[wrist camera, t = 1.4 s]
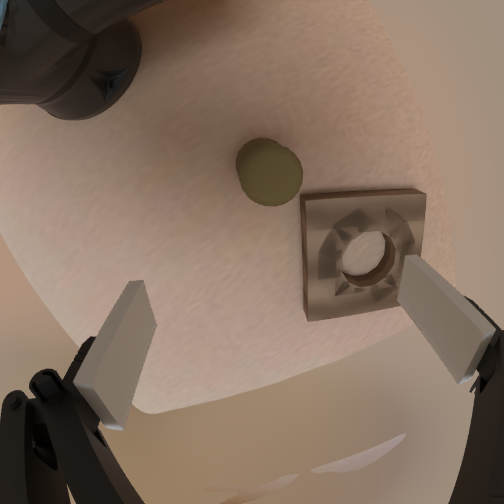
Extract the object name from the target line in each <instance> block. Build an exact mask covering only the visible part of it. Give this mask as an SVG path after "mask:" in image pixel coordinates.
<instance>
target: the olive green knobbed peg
mask: <svg viewBox="0 0 504 504" xmlns="http://www.w3.org/2000/svg"><path fill="white" fill-rule="evenodd" d="M236 169H237V172H238V176H239V180H240V183H241V186H242V189H243V191H244V192H245V193H246V195H247V196H248V197H249V198H250V199H251V200H253V201H254V202H255V203H258V204H261V205H264V206H278V205H282V204H285V203H287V202H288V201H290V200H291V199H293V197H294V196H295V195H296V194H297V193H298V192H299V189H300V187H301V184H302V179H303V170H302V166H301V163H300V161H299V160H298V158H297V156H296V155H295V154H294V153H293V152H292V151H290V150H289V149H288V148H286V147H283V146H281V145H279V144H278V143H277V142H275V141H273V140H270V139H264V138H259V139H255V140H251V141H250V142H248V143H247V144H245V145H244V146H243V147H242V149H241V150H240V151H239V153H238V156H237V159H236Z"/></svg>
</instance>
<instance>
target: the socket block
mask: <svg viewBox="0 0 504 504" xmlns="http://www.w3.org/2000/svg"><path fill="white" fill-rule="evenodd" d="M300 207H301V227H302V252H303V291H304V312H305V315H306V318H307V321H308V322H311V321H318V320H325V319H331V318H338V317H344V316H350V315H355V314H361V313H366V312H372V311H377V310H382V309H387V308H392V307H397V306H401V305H400V304H399V302H398V301H397V298H398V293H399V288H400V283H401V277H402V272H403V266H404V260H405V256H406V255H415V254H417V255H418V256H419V257H420V256H421V249H422V241H423V232H424V222H425V210H426V193H423V192H421V191H418V190H416V189H392V190H369V191H351V192H335V193H321V194H308V195H300ZM369 231H381V232H382V234H383V236H384V238H385V240H386V244H385V255H384V256H383V258H382V260H381V261H380V263H379V265H378V266H377V267H376V268H375V269H373V270H372V271H370V272H369V273H367V274H366V275H360V276H350V275H348V274H346V273H343V272H342V255H343V253H344V252H345V250H346V248H347V246H348V245H349V243H350V241H352V240H353V239H355V238H356V237H357V236H359V235H360V234H362V233H363V232H369Z"/></svg>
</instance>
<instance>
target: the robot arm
mask: <svg viewBox="0 0 504 504" xmlns="http://www.w3.org/2000/svg"><path fill="white" fill-rule="evenodd" d="M164 1H167V0H0V105H2V104H36V105H37V106H39V107H41V108H42V109H44V110H45V111H47V112H48V113H49V114H50V115H52V116H54V117H56V118H59V119H63V120H84V119H88V118H91V117H94V116H96V115H98V114H100V113H102V112H104V111H105V110H107V109H108V108H109V107H111V106H112V105H113V104H114V103H115V102H116V101H117V100H118V99H119V98H120V97H121V96H122V95H123V94H124V93H125V91H126V90H127V88H128V87H129V85H130V84H131V82H132V80H133V79H134V77H135V74H136V72H137V69H138V67H139V63H140V59H141V51H142V45H141V38H140V35H139V32H138V30H137V28H136V27H135V25H134V24H133V23H132V22H131V21H130V20H129V19H127V18H129V17H131V16H133V15H135V14H137V13H140V12H142V11H144V10H146V9H148V8H150V7H152V6H155V5H157V4H159V3H162V2H164ZM397 301H398V302H399V304H400V305H401V306H402V307H403V309H404V310H405V311H406V313H407V314H408V315H409V316H410V318H411V319H412V320H413V322H414V323H415V324H416V326H417V327H418V328H419V330H420V331H421V332H422V334H423V335H424V336H425V338H426V339H427V341H428V342H429V343H430V345H431V346H432V347H433V349H434V350H435V352H436V353H437V354H438V356H439V357H440V359H441V360H442V361H443V363H444V364H445V366H446V367H447V369H448V370H449V372H450V373H451V375H452V376H453V378H454V379H455V381H456V382H457V384H458V385H459V384H461V383H464V382H466V381H468V380H470V379H471V377H472V376H473V374H474V372H475V370H477V371H478V372H479V376H478V377H477V379H476V381H475V382H474V384H473V386H472V387H471V389H470V392H472V391H473V389H474V388H475V387H476V391H475V399H474V406H473V413H472V419H471V425H470V430H469V435H468V440H467V444H466V448H465V452H464V457H463V460H462V464H461V467H460V471H459V474H458V477H457V481H456V484H455V487H454V490H453V493H452V496H451V498H450V501H449V503H448V504H504V330H503V331H502V330H501V329H500V328H499V327H498V325H497V324H496V323H495V322H494V321H493V320H492V319H491V318H490V317H489V316H488V315H487V314H486V313H484V311H483V310H482V309H481V308H479V306H478V305H477V304H476V303H475V302H474V301H473V300H471V299H469V298H467V297H465V296H463V295H462V294H461V293H459V292H458V291H457V290H456V289H455V288H454V287H453V286H452V285H451V284H450V283H449V282H448V281H447V280H446V279H444V278H443V277H442V276H441V275H440V274H439V273H438V272H437V271H435V270H434V269H433V268H432V267H431V266H430V265H429V264H427V263H426V262H425V261H424V260H423V259H422V258H420V257H419V256H418V255H417V254H415V255H406V256H405V260H404V266H403V272H402V277H401V283H400V288H399V293H398V298H397ZM156 327H157V324H156V321H155V318H154V314H153V311H152V308H151V305H150V301H149V298H148V295H147V291H146V288H145V284H144V281H143V280H138V281H129V283H128V284H127V286H126V287H125V289H124V291H123V292H122V294H121V296H120V297H119V299H118V300H117V302H116V304H115V305H114V307H113V309H112V311H111V312H110V314H109V316H108V317H107V319H106V321H105V323H104V324H103V326H102V328H101V330H100V331H99V333H98V335H97V337H92V336H91V337H89V338H88V339H87V340H86V341H85V342H84V343H83V344H82V346H81V347H80V349H79V351H78V354H77V355H76V356H75V358H74V361H73V362H72V363H71V365H70V367H69V369H68V371H67V373H66V375H65V376H64V378H63V380H62V379H61V378H60V376H59V375H58V373H57V371H55V370H53V369H44V370H41V371H40V372H38V373H36V374H35V375H34V376H33V377H32V379H31V381H30V383H29V389H30V390H31V392H32V393H33V394H34V396H35V397H36V398H33V399H28V397H27V396H26V395H25V393H24V392H22V391H20V390H15V391H12V392H10V393H9V394H8V395H7V396H6V397H5V399H4V401H3V404H2V410H1V418H0V504H71V503H70V498H69V493H68V488H67V485H68V487H69V489H70V492H71V494H72V496H73V498H74V500H75V502H76V504H145V503H144V502H143V501H142V499H141V498H140V496H139V495H138V493H137V492H136V490H135V489H134V487H133V486H132V485H131V483H130V481H129V480H128V478H127V477H126V475H125V473H124V472H123V470H122V469H121V467H120V465H119V464H118V462H117V460H116V459H115V457H114V455H113V453H112V452H111V450H110V448H109V446H108V444H107V442H106V440H105V438H104V436H103V435H102V433H101V431H100V430H99V429H98V425H99V422H100V420H101V422H102V423H103V424H104V425H105V426H106V428H110V429H116V430H123V431H124V428H125V424H126V421H127V417H128V414H129V410H130V407H131V404H132V400H133V397H134V393H135V390H136V387H137V384H138V381H139V377H140V374H141V371H142V368H143V365H144V362H145V359H146V356H147V353H148V350H149V347H150V344H151V341H152V338H153V335H154V332H155V329H156Z"/></svg>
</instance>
